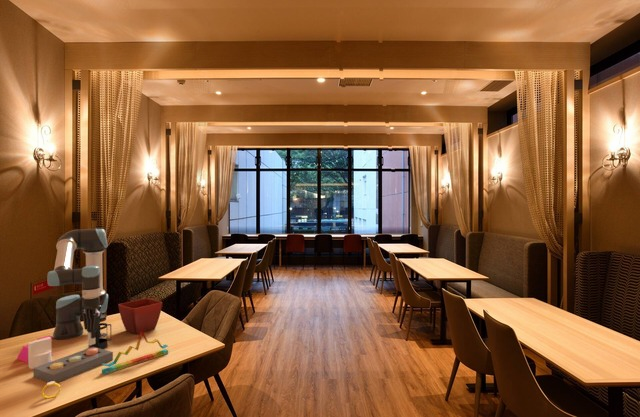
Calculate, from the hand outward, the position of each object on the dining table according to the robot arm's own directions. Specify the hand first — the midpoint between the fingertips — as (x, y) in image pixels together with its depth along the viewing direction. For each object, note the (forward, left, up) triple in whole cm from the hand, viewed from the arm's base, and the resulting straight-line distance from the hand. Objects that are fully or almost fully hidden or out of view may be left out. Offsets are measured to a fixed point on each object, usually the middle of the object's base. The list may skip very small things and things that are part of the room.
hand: (91, 344), depth 178 cm
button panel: (0, -8, -9) cm, 12 cm away
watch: (+19, -28, -9) cm, 35 cm away
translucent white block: (-20, -13, -9) cm, 26 cm away
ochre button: (0, -16, -7) cm, 17 cm away
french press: (-15, +13, -9) cm, 22 cm away
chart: (+22, +9, -9) cm, 25 cm away
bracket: (-33, -9, -9) cm, 35 cm away
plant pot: (-19, +42, -9) cm, 47 cm away
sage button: (0, -8, -7) cm, 10 cm away
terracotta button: (0, 0, -6) cm, 6 cm away
